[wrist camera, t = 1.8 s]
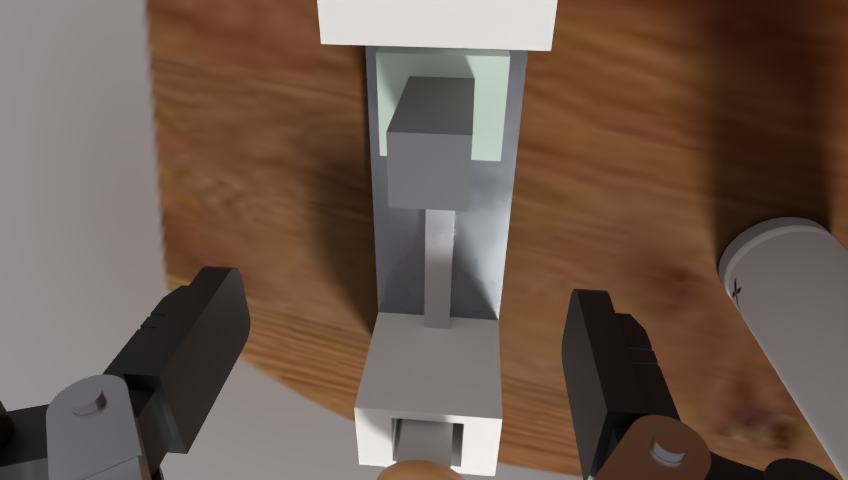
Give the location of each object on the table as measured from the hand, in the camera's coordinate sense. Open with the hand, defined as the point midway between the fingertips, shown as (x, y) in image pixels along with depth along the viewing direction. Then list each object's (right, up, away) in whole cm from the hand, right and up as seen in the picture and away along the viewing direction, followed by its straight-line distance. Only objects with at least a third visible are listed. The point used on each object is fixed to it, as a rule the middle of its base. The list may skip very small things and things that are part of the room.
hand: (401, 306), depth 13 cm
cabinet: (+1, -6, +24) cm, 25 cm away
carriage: (+2, +9, +14) cm, 17 cm away
